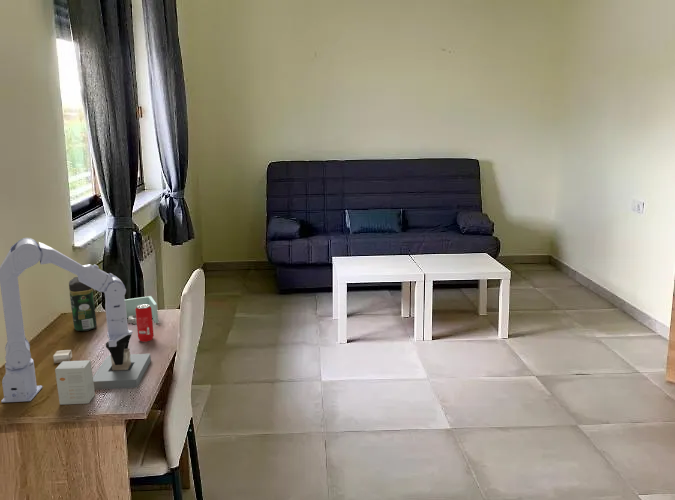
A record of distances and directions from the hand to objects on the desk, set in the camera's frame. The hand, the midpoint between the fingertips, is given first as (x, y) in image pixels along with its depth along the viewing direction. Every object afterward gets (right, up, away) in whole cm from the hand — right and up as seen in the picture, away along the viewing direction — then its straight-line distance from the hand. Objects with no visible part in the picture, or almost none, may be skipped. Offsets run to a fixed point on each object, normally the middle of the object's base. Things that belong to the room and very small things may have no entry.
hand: (121, 361), depth 198 cm
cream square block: (0, -2, 0) cm, 2 cm away
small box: (-7, -8, -15) cm, 19 cm away
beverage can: (-1, +2, +30) cm, 30 cm away
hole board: (0, -4, +1) cm, 4 cm away
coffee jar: (-27, +5, +44) cm, 52 cm away
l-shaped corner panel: (-9, +6, +50) cm, 51 cm away
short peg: (-23, -2, +14) cm, 27 cm away
